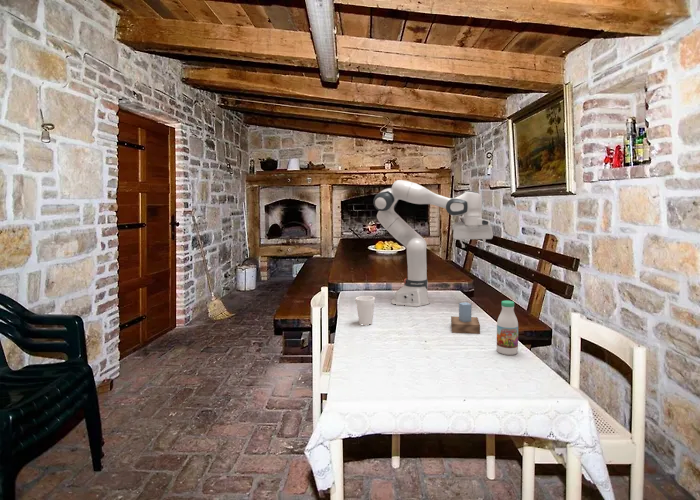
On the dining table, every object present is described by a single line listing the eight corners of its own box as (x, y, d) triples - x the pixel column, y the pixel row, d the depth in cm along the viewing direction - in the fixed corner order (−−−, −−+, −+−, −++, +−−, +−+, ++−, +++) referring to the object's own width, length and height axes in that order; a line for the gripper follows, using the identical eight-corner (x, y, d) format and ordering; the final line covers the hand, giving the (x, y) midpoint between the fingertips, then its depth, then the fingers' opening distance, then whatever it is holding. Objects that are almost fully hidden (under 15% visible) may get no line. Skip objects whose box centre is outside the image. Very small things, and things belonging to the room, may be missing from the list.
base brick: (452, 332, 174) (452, 324, 173) (451, 324, 185) (451, 316, 185) (479, 333, 171) (480, 325, 170) (477, 325, 183) (477, 317, 182)
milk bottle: (492, 348, 153) (493, 299, 151) (511, 347, 154) (512, 298, 152) (502, 356, 146) (503, 304, 143) (521, 354, 146) (522, 303, 144)
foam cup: (377, 321, 193) (377, 296, 192) (372, 327, 185) (372, 300, 183) (359, 320, 196) (358, 295, 195) (353, 325, 188) (353, 299, 186)
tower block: (458, 319, 179) (458, 303, 178) (466, 318, 180) (466, 302, 179) (463, 322, 175) (463, 305, 174) (471, 321, 176) (471, 304, 175)
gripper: (452, 222, 203) (452, 248, 205) (493, 221, 199) (493, 248, 200) (452, 221, 210) (452, 247, 211) (491, 221, 205) (491, 246, 207)
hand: (472, 247), depth 206 cm, fingers open, 8 cm apart
